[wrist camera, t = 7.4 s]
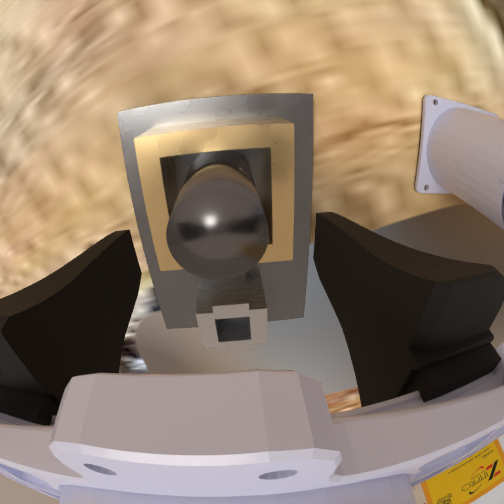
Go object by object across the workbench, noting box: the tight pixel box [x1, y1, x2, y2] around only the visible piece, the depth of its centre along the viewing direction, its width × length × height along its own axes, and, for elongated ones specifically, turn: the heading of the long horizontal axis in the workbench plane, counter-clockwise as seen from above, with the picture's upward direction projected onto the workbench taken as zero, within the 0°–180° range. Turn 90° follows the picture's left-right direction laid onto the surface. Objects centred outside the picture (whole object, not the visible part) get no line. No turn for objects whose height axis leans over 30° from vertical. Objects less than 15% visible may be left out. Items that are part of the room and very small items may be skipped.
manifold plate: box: [117, 93, 313, 352], centre depth 19 cm, size 12×18×4 cm, turn 3°
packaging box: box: [412, 438, 504, 504], centre depth 36 cm, size 16×16×25 cm
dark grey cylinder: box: [166, 150, 269, 280], centre depth 15 cm, size 4×4×8 cm
